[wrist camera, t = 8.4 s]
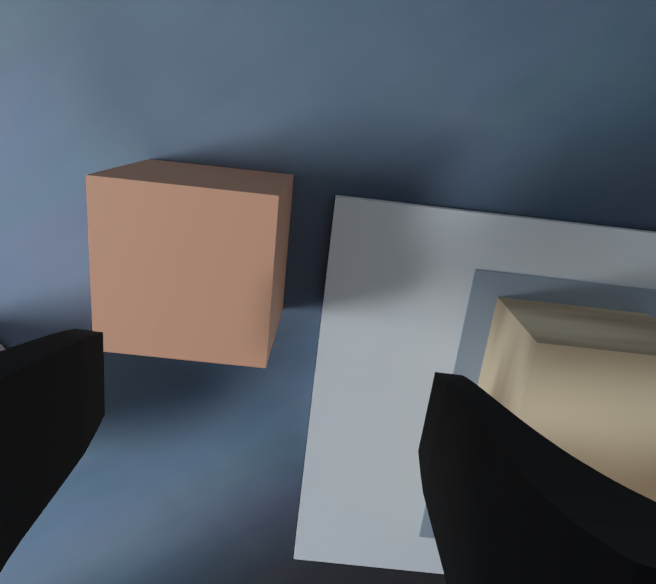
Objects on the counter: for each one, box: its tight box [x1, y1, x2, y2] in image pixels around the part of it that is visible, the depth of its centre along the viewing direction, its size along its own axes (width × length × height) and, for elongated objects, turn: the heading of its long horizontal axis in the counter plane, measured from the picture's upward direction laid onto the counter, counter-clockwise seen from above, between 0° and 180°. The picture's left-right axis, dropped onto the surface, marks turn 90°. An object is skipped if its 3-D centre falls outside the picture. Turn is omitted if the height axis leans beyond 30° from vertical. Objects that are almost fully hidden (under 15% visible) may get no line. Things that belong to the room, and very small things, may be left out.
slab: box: [478, 297, 656, 502], centre depth 19 cm, size 10×6×4 cm, turn 174°
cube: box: [86, 159, 294, 368], centre depth 17 cm, size 5×5×5 cm
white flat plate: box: [294, 195, 656, 574], centre depth 21 cm, size 16×18×1 cm
